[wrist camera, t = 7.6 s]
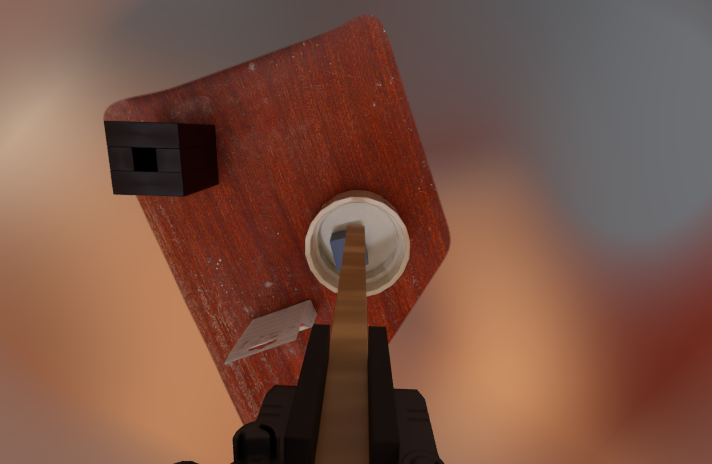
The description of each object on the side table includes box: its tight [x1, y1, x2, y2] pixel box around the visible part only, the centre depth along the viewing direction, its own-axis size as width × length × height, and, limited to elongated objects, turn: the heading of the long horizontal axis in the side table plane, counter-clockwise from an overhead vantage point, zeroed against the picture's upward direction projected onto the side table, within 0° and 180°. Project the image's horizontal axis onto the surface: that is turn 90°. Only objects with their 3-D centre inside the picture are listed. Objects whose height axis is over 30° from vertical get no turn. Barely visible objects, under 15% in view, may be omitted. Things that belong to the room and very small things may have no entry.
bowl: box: [305, 190, 410, 297], centre depth 48 cm, size 12×12×6 cm
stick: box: [314, 225, 370, 464], centre depth 24 cm, size 2×2×30 cm
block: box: [330, 230, 369, 271], centre depth 48 cm, size 4×4×4 cm
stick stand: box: [104, 121, 218, 197], centre depth 43 cm, size 7×7×10 cm
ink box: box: [225, 300, 317, 364], centre depth 48 cm, size 3×9×12 cm, turn 111°
